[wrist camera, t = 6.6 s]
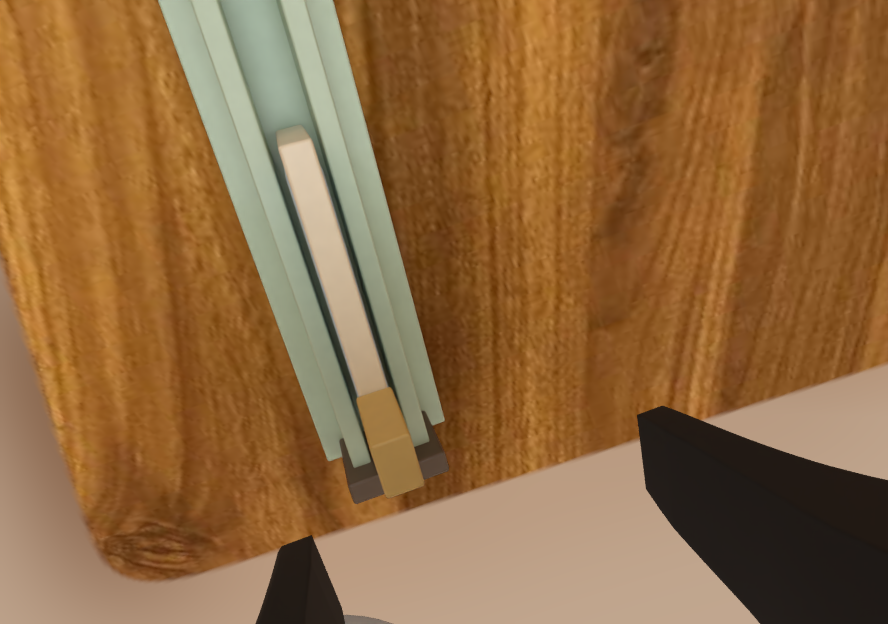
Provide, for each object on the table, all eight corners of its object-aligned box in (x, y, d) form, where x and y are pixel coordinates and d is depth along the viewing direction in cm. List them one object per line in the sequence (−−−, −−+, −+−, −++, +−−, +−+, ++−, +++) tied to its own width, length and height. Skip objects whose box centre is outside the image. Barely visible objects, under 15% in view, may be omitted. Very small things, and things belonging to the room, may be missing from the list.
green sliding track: (437, 405, 24) (468, 465, 20) (325, 444, 23) (336, 512, 20) (247, -300, 16) (242, -411, 12) (63, -271, 15) (-2, -380, 11)
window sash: (390, 401, 22) (436, 523, 16) (362, 410, 22) (399, 537, 16) (305, 122, 18) (326, 148, 12) (270, 131, 18) (273, 162, 12)
